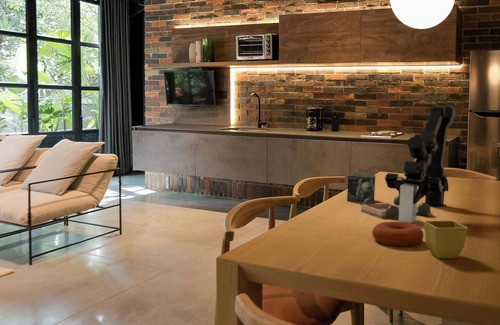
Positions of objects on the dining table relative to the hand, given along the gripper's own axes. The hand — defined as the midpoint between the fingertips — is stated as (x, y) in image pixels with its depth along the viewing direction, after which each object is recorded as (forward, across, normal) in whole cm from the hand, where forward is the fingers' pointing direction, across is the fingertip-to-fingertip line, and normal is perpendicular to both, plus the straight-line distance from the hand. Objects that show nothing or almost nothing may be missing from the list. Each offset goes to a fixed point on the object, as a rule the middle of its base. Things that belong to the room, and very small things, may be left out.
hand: (406, 202), depth 194 cm
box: (-14, -27, +23) cm, 38 cm away
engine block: (+4, 0, +6) cm, 7 cm away
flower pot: (+29, +21, -19) cm, 41 cm away
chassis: (-4, -8, +14) cm, 16 cm away
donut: (+24, +6, -14) cm, 28 cm away
